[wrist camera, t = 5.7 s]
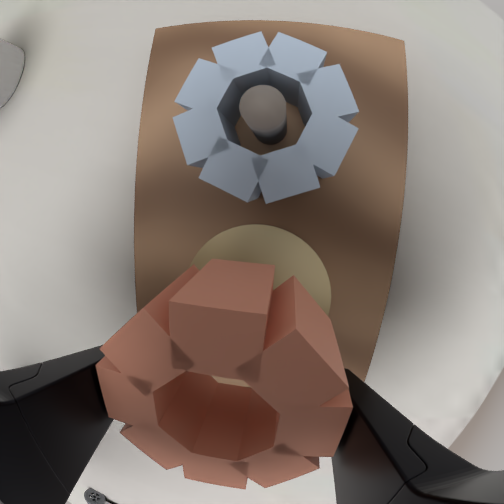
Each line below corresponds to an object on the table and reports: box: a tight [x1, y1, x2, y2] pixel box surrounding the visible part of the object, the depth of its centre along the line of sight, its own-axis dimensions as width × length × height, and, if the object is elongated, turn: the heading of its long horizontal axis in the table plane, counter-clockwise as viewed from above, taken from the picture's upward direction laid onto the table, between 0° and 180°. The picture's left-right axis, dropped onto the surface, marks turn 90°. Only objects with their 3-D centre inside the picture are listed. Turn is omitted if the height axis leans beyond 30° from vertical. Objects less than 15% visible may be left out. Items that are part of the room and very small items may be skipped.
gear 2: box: [96, 259, 353, 489], centre depth 8 cm, size 6×6×4 cm
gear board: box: [134, 20, 408, 387], centre depth 12 cm, size 20×13×6 cm, turn 176°
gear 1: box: [173, 32, 359, 204], centre depth 11 cm, size 6×6×4 cm
